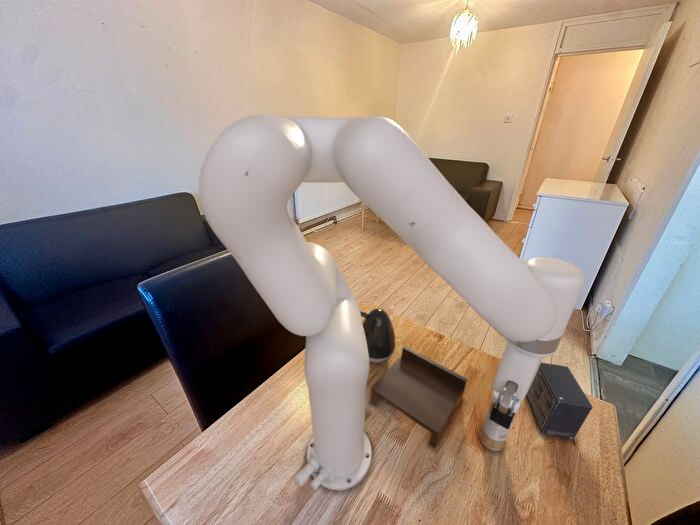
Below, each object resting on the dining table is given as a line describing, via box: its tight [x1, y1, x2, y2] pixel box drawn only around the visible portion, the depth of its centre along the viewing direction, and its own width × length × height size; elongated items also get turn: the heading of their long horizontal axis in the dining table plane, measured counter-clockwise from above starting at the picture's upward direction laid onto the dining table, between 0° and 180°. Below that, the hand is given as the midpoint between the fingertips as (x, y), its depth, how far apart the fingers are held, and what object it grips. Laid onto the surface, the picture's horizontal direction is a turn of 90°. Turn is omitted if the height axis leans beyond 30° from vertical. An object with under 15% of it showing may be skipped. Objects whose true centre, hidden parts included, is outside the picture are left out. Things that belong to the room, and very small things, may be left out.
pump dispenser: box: [360, 308, 396, 364], centre depth 76 cm, size 10×10×15 cm
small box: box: [525, 362, 594, 441], centre depth 61 cm, size 11×6×10 cm, turn 168°
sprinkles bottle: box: [479, 387, 522, 452], centre depth 55 cm, size 5×5×13 cm
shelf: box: [370, 345, 468, 450], centre depth 64 cm, size 14×16×8 cm
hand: (506, 403), depth 53 cm, fingers open, 9 cm apart
